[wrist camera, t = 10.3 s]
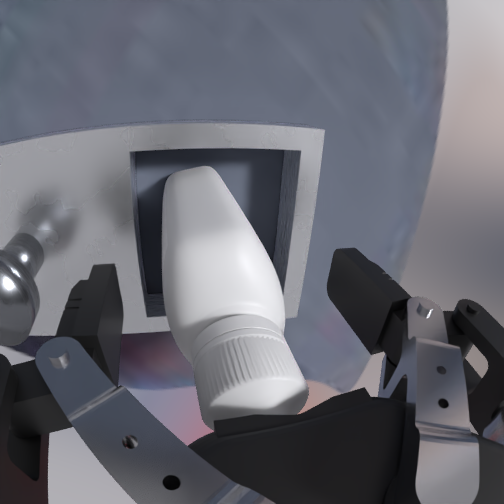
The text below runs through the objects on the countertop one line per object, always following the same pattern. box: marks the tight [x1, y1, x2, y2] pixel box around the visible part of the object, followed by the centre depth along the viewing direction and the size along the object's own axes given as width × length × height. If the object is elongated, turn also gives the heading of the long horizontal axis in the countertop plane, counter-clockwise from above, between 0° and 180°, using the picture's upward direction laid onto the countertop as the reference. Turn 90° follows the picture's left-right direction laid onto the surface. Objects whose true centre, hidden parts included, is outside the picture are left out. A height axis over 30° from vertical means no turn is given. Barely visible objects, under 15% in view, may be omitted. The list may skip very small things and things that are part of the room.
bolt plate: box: [0, 120, 325, 346], centre depth 12 cm, size 10×16×6 cm, turn 86°
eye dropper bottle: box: [162, 166, 309, 430], centre depth 10 cm, size 4×6×12 cm
